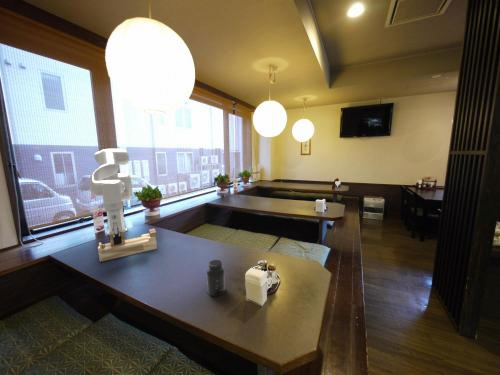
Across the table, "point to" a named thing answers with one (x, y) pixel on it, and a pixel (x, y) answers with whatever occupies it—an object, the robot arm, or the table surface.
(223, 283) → the supplement bottle
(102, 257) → the light wooden long piece
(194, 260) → the table surface
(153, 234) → the brown wooden block
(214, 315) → the table surface
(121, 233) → the lid
